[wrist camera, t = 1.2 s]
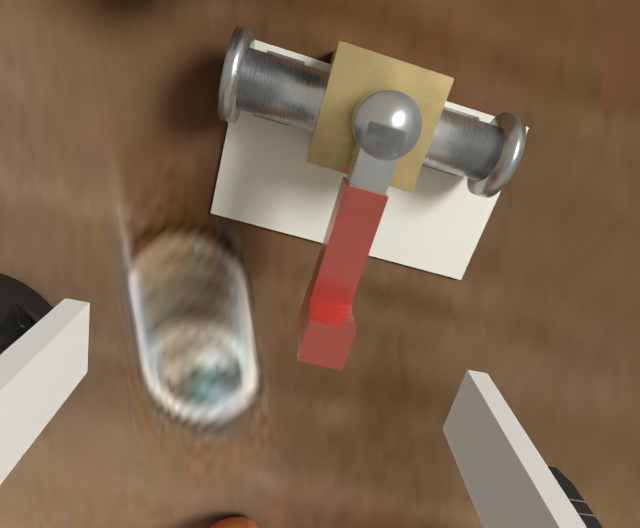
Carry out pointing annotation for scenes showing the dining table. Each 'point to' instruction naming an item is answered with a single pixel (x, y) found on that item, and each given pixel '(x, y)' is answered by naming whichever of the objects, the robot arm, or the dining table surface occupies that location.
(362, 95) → the valve
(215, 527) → the apple
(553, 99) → the dining table surface
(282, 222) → the board
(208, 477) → the dining table surface
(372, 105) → the lever
